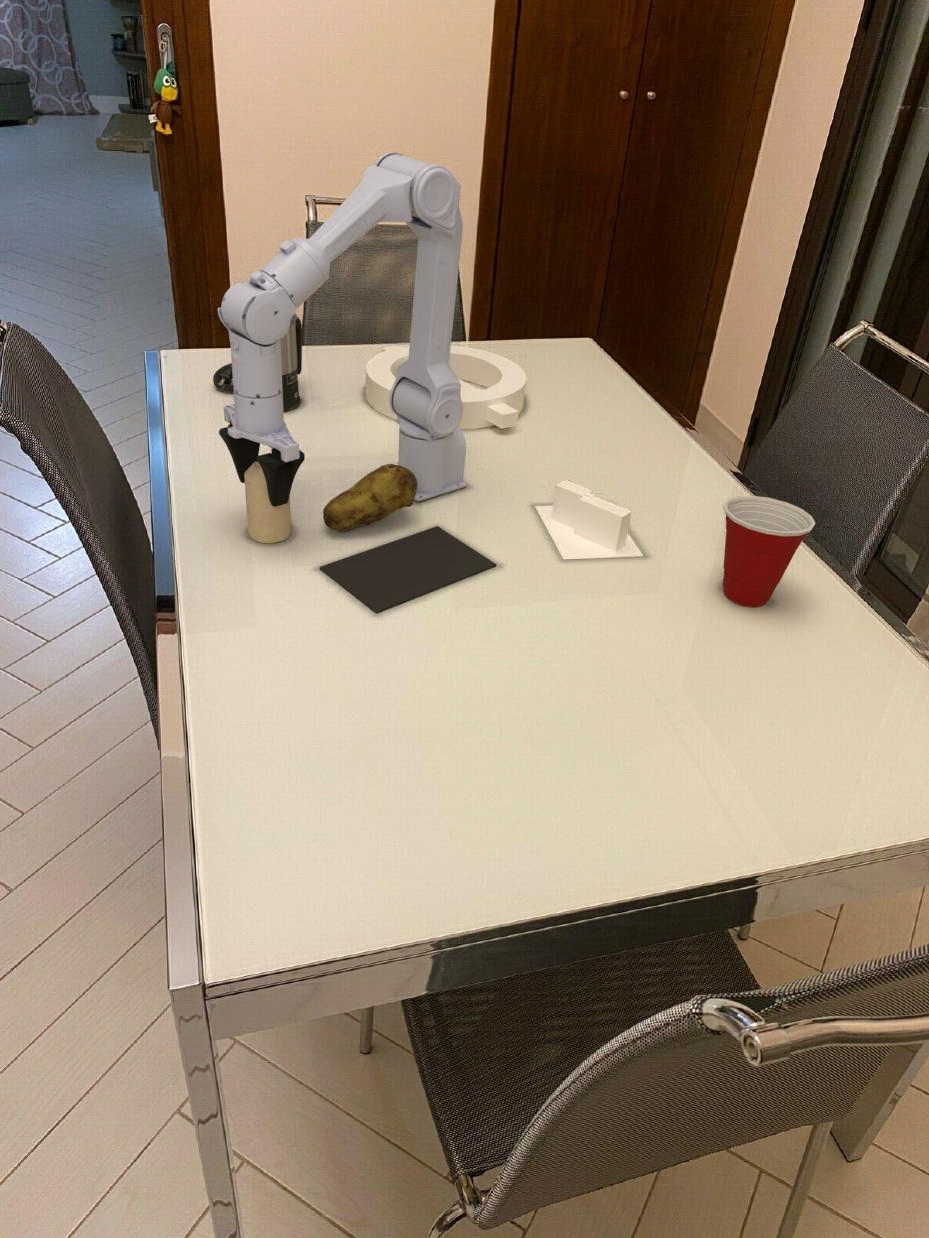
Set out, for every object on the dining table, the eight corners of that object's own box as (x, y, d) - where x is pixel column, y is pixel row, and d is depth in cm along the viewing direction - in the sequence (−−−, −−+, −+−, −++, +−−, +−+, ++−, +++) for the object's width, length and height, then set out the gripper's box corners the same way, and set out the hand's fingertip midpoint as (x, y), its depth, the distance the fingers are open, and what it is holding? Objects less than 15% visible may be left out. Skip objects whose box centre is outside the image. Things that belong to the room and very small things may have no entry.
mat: (437, 527, 128) (437, 525, 128) (496, 566, 121) (496, 564, 120) (319, 568, 117) (319, 566, 117) (376, 613, 110) (376, 611, 110)
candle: (282, 546, 121) (279, 476, 115) (241, 539, 121) (236, 469, 116) (297, 526, 125) (294, 458, 120) (257, 520, 126) (253, 451, 120)
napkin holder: (645, 556, 125) (652, 518, 122) (563, 560, 123) (569, 521, 120) (608, 503, 137) (614, 467, 134) (533, 506, 135) (537, 469, 132)
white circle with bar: (383, 362, 179) (384, 337, 177) (529, 379, 177) (532, 354, 175) (349, 418, 156) (349, 390, 154) (515, 438, 154) (518, 410, 152)
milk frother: (296, 415, 156) (293, 326, 147) (200, 408, 155) (191, 318, 147) (308, 384, 167) (306, 300, 159) (219, 378, 167) (212, 293, 158)
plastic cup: (791, 583, 122) (817, 501, 115) (787, 627, 114) (815, 540, 107) (707, 564, 125) (728, 483, 118) (697, 605, 116) (719, 520, 109)
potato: (318, 510, 129) (317, 457, 125) (411, 507, 132) (413, 454, 128) (324, 541, 123) (324, 485, 118) (421, 536, 125) (424, 482, 121)
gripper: (198, 376, 114) (207, 478, 122) (260, 417, 105) (265, 523, 113) (249, 366, 118) (255, 465, 126) (313, 404, 109) (315, 508, 117)
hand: (263, 492), depth 120 cm, fingers open, 7 cm apart
